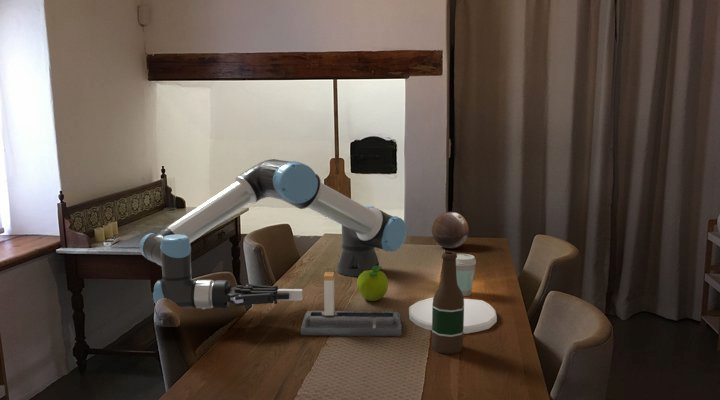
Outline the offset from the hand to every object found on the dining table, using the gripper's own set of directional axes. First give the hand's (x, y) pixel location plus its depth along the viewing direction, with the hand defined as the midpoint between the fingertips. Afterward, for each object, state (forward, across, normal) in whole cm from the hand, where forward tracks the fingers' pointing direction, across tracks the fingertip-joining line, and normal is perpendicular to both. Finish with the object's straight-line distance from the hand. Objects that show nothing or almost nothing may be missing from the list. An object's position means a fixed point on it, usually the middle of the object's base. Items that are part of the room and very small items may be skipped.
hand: (302, 294), depth 169 cm
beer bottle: (+37, +14, -9) cm, 41 cm away
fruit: (+19, -24, -9) cm, 32 cm away
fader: (+7, 0, -7) cm, 10 cm away
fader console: (+13, 0, -9) cm, 16 cm away
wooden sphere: (+50, -94, -9) cm, 107 cm away
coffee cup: (+47, -31, -9) cm, 57 cm away
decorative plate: (+41, -9, -10) cm, 43 cm away
